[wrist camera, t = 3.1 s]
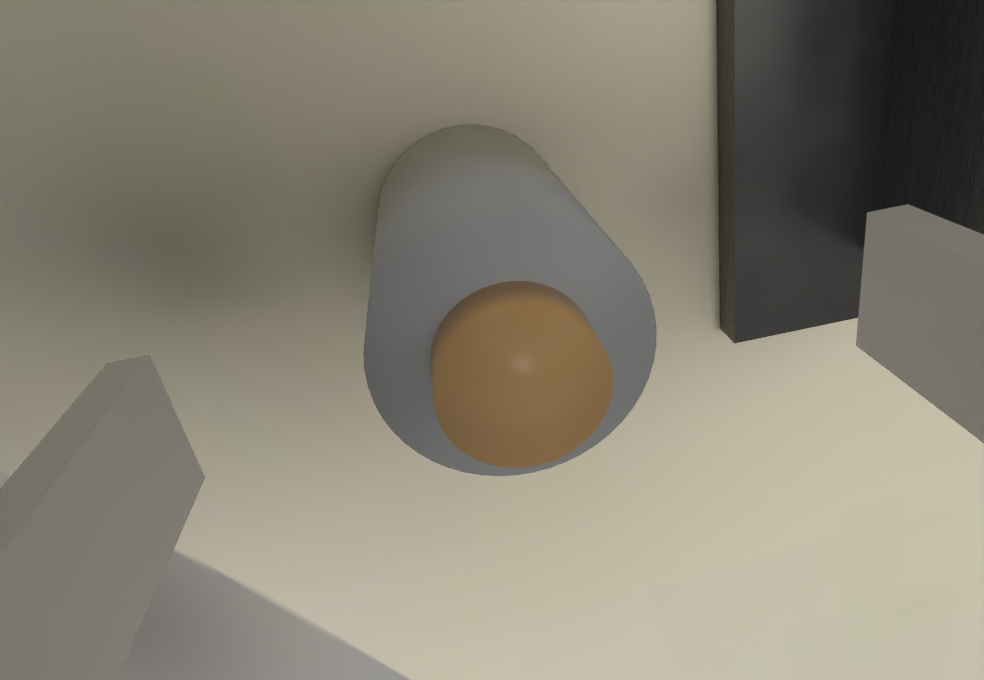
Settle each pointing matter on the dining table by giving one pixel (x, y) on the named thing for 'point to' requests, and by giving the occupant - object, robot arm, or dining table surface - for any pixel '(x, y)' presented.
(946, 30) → the stepped square mount
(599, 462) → the dining table surface
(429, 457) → the grey cylinder with ball
